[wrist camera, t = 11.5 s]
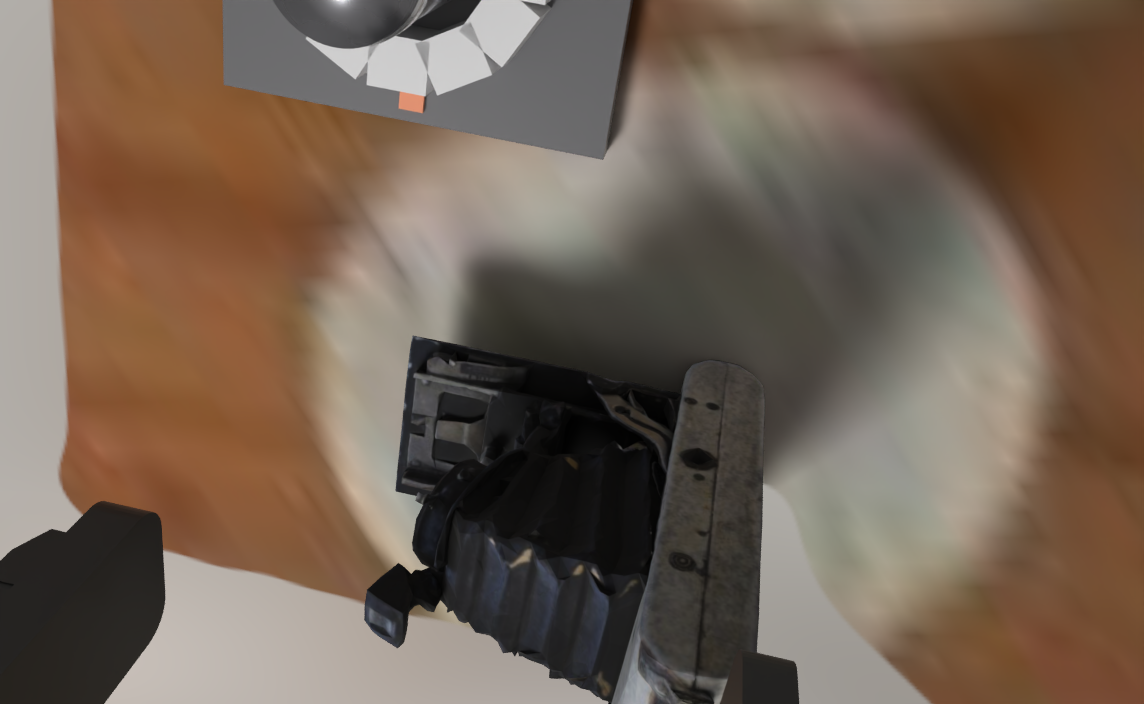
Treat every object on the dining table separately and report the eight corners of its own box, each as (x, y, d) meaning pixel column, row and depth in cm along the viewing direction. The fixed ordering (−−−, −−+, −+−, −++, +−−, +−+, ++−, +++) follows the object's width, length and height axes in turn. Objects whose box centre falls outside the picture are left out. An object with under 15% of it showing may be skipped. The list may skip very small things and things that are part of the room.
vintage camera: (440, 284, 45) (226, 563, 28) (772, 363, 44) (762, 708, 27) (422, 454, 50) (228, 782, 33) (721, 531, 49) (683, 915, 31)
